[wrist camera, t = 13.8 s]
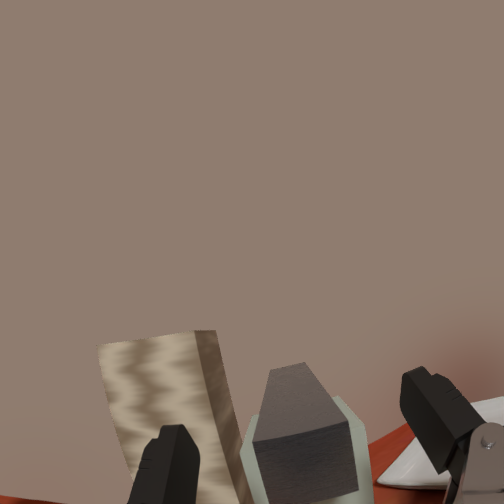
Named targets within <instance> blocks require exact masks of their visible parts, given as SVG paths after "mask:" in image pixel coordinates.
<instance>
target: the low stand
mask: <svg viewBox="0 0 504 504" xmlns="http://www.w3.org/2000/svg"><path fill="white" fill-rule="evenodd" d="M332 399H333V401H334V402H335V403H336V405H337V406H338V407H339V409H340V410H341V411H342V413H343V414H344V415H345V417H346V418H347V419H348V421H349V427H350V433H351V439H352V445H353V451H354V458H355V464H356V471H357V478H358V486H359V491H356V492H353V493H350V494H346V495H343V496H339V497H335V498H332V499H328V500H323V501H319V502H315V503H310V504H374V495H373V485H372V476H371V467H370V459H369V452H368V444H367V438H366V431H365V425H364V424H363V423H362V422H361V420H360V419H359V418H358V417H357V416H356V415H355V414H354V413H353V412H352V410H351V409H350V408H349V407H348V406H347V405H346V404H345V403H344V402H343V401H342V399H341V398H340V397H339V396H336V397H332ZM258 417H259V414H258V415H253V416H252V418H251V421H250V424H249V427H248V430H247V433H246V436H245V439H244V442H243V445H242V447H241V450H240V457H241V460H242V464H243V467H244V471H245V474H246V477H247V481H248V484H249V487H250V490H251V494H252V497H253V500H254V503H255V504H269V502H268V498H267V495H266V491H265V488H264V485H263V481H262V477H261V474H260V470H259V467H258V463H257V459H256V456H255V452H254V448H253V444H252V440H253V436H254V432H255V429H256V425H257V421H258Z"/></svg>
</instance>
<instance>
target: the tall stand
mask: <svg viewBox="0 0 504 504" xmlns="http://www.w3.org/2000/svg"><path fill="white" fill-rule="evenodd" d="M97 351H98V357H99V363H100V368H101V373H102V378H103V383H104V387H105V391H106V396H107V400H108V404H109V408H110V411H111V415H112V419H113V422H114V426H115V429H116V433H117V436H118V439H119V442H120V445H121V448H122V451H123V454H124V457H125V460H126V463H127V466H128V468H129V471H130V473H131V476H132V478H133V481H134V480H135V477H136V473H137V470H139V468H138V467H139V463H140V461H141V457H142V454H143V450H144V448H145V447H146V445H147V444H148V443H149V442H150V440H151V439H152V438H158V436H159V432H160V429H161V427H162V426H163V425H174V424H183V425H184V426H185V427H186V429H187V431H188V432H189V434H190V436H191V437H192V439H193V440H194V442H195V444H196V445H197V447H198V449H199V452H200V469H199V478H198V487H197V495H196V504H255V503H254V500H253V497H252V494H251V490H250V487H249V484H248V481H247V477H246V474H245V471H244V467H243V464H242V460H241V457H240V450H241V447H242V445H243V443H242V439H241V436H240V432H239V428H238V424H237V420H236V417H235V412H234V408H233V404H232V400H231V396H230V392H229V388H228V384H227V379H226V375H225V371H224V366H223V362H222V357H221V353H220V348H219V344H218V338H217V334H216V331H215V330H211V331H189V332H183V333H178V334H171V335H166V336H160V337H154V338H147V339H140V340H133V341H127V342H119V343H111V344H104V345H97Z"/></svg>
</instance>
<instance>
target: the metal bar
mask: <svg viewBox="0 0 504 504" xmlns="http://www.w3.org/2000/svg"><path fill="white" fill-rule="evenodd" d="M252 444H253V448H254V452H255V456H256V459H257V463H258V467H259V470H260V474H261V477H262V481H263V485H264V488H265V491H266V495H267V498H268V502H269V504H310V503H315V502H319V501H323V500H328V499H332V498H335V497H339V496H343V495H346V494H350V493H353V492H356V491H359V486H358V478H357V471H356V464H355V458H354V451H353V445H352V439H351V433H350V427H349V421H348V419H347V418H346V417H345V415H344V414H343V413H342V411H341V410H340V409H339V407H338V406H337V405H336V403H335V402H334V401H333V399H332V398H331V397H330V396H329V394H328V393H327V392H326V390H325V389H324V388H323V387H322V385H321V384H320V382H319V381H318V380H317V378H316V377H315V376H314V374H313V373H312V371H311V370H310V369H309V367H308V366H307V365H306V363H305V362H303V363H299V364H295V365H291V366H287V367H282V368H278V369H273V370H270V373H269V377H268V381H267V386H266V390H265V394H264V398H263V402H262V406H261V410H260V413H259V417H258V421H257V425H256V429H255V432H254V436H253V440H252Z"/></svg>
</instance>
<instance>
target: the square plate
mask: <svg viewBox="0 0 504 504" xmlns="http://www.w3.org/2000/svg"><path fill="white" fill-rule="evenodd" d="M470 404H471V405H472V406H473V408H474V409H475V410H476V411H477V412H478V413H479V415H480V416H481V417H482V418H483V419H484V420H485V421H486V422H487V423H489V422H494V423H498V424H500V425H502V426H504V396H502V397H497V398H493V399H489V400H483V401H478V402H474V403H470ZM450 476H451V475H450V473H449V471H448V470H447V471H445V472H443V473H441V474H440V475H438V474H437V472H436V470H435V468H434V467H433V465H432V463H431V461H430V460H429V458H428V456H427V455H426V453H425V451H424V449H423V448H422V446H421V444H420V443H419V441H418V439H417V438H416V437H415V438H414V439H413V441H412V442H411V443H410V444H409V445H408V447H407V448H406V449H405V450H404V451H403V452H402V453H401V454H400V456H399V457H398V458H397V459H396V460H395V461H394V462H393V463H392V464H391V465H390V466H389V467H388V469H387V470H386V471H385V472H384V473H383V474H382V475H381V476H380V477H379V478H378V479H377V482H378V483H380V484H383V485H386V486H391V487H397V488H407V489H447V486H448V482H449V478H450Z"/></svg>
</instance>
